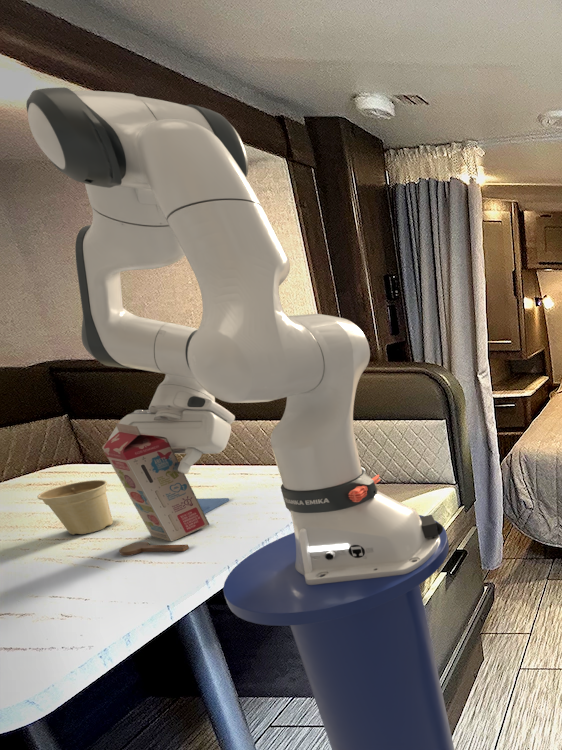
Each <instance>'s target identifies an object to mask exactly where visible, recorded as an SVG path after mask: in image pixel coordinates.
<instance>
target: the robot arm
mask: <svg viewBox="0 0 562 750" xmlns="http://www.w3.org/2000/svg"><path fill="white" fill-rule="evenodd" d="M26 112H27V120H28V126H29V130H30V132H31V135H32V137H33V138H34V141H35V142H36V143H37V145H38V147H39V148H40V150H41V151H42V152H43V153H44V154H45V156H46V157H47V158H48V159H49V161H50V163H51V164H52V165H53V166H54V167H55V168H56V169H57V170H58V171H59V172H61V173H62V174H64V175H65V176H67V177H68V178H70V179H72V180H73V181H75V182H79V183H82V184H84V186H85V190H86V193H87V197H88V200H89V204H90V207H91V210H92V221H91V224H87V225H85V226H82V228H81V229H79V231H78V233H77V235H76V239H75V245H74V246H75V249H74V250H75V251H74V252H75V264H76V265H75V266H76V274H77V282H78V289H79V295H80V305H81V311H82V323H81V343H82V346H83V347H84V348H85V350H86V351H87V352H88V354H89V355H90V356H92V357H93V358H94V359H95V360H96V361H98V362H99V363H100V364H102V365H104V366H106V367H114V368H121V369H122V368H123V369H135V370H142V371H147V372H153V373H158V374H164V375H165V376H164V379H163V381H162V382H160V383H159V384H158V386H157V387H156V390H155V392H154V394H153V397H152V399H151V401H150V404H149V406H148V409H135V410H134V411H133V412H131V413H129V414H126V415H125V416H124V417H122V418H121V419H120V420H119V422H118V423H119V424H125V425H130V426H131V425H132V426H137V427H138V429H139V431H140V433H142V434H148V435H154V436H160V437H165V438H167V440H168V442H169V444H170V446H171V448H172V450H173V452H174V454H175V455H184V456H183V457H182V459H180V461H178V462H175V465H174V466H175V467H173V471H174V472H176V473H178V474H185V475H187V474H189V472H190V469H191V467H192V466H194V465H195V464H196V463H197V462H198V461H199V460H200V459H201V458H202V455H204V454H205V455H206V454H207V455H208V454H210V455H211V454H217V455H218V454H220V453H221V452H223V451H224V450H225V449H226V447H228V443H229V440H230V436H231V433H232V425H231V424H233V423H234V422H235V420H236V416H235V414H233V413H232V412H230V410H228V409H226V408H225V407H224V406H222V405H220V404H219V403H218V402H216V399H218V400H220V401H222V402H225V403H230V404H244V403H245V404H249V403H251V404H252V403H269V402H272V401H277V400H280V399H285V398H286V403H285V407H284V408H285V409H284V412H283V414H282V417H281V419H280V420H279V422H278V423H277V424H276V425H275V426H274V427H273V430H272V431H271V435H270V446H271V450H272V453H273V456H274V460H275V463H276V467H277V470H278V473H279V477H280V480H281V485H280V491H281V494H282V499H283V502H284V505H285V508H286V509H287V510H288V511H289V513H290V517H291V521H292V526H293V531H294V532H293V533H295V541H296V563H295V568H296V570H297V571H298V572H299V573H301V574H302V575H304V576H305V582H306V584H308V585H317V584H325V583H334V582H343V581H352V580H361V579H370V578H378V577H387V576H396V575H403V574H407V573H409V572H411V571H413V570H415V569H417V568H418V567H420V566H421V565H422V564H424V563H425V562H426V561H427V560H428V559H429V558H430V557H431V556H432V555H433V553H434V552H435V551H436V549H437V548H438V546H439V543H440V536H439V535H440V534H441V533H442V531H443V527H444V526H443V524H441V523H440V522H439V523H437V522H438V521H437V522H435V521H436V520H435V519H434V516H433V515H432V514H428V515H422V516H423V517H419V515H420V514H419V513H418V512H417V511H416V509H414V508H413V507H410V506H408V505H406V504H403V503H402V502H400V501H399V500H396V499H395V498H392V497H390V496H388V495H386V494H384V493H383V492H381V491H380V490H378V487H377V486H376V485H377V484H378V483H379V482H380V481H381V480H382V479H381V478H380V474H376V475H375V476H374V477H370V476H369V474H368V473H367V472H366V471H365V469H363V467H362V464H361V460H360V454H359V450H358V445H357V441H356V435H355V430H354V429H355V428H354V407H355V399H356V394H357V388H358V384H359V381H360V379H361V376H362V374H363V373H364V371H365V370H366V369H367V367H368V365H369V363H370V357H371V349H370V345H369V341H368V339H367V337H366V335H365V334H364V332H363V331H362V329H361V328H360V327H359V326H358V325H357V324H355V323H354V322H353V321H351V320H350V319H347V318H344V317H340V316H335V315H328V314H322V313H308V314H296V315H287V314H286V313H285V311H284V309H283V305H282V303H281V297H280V286H281V285H283V283H284V282H285V280H286V279H287V278H288V276H289V274H290V268H291V265H290V260H289V258H288V257H289V256H288V255H287V253H286V251H285V250H284V247H283V246H282V243H281V241H280V239H279V238H278V235H277V233H276V231H275V229H274V227H273V224H272V223H271V221H270V219H269V217H268V215H267V213H266V211H265V209H264V207H263V205H262V203H261V201H260V199H259V198H258V195H257V194H256V192H255V190H254V189H253V187H252V185H251V184H250V181H249V180H248V178H247V176H248V174H249V159H248V155H247V151H246V149H245V145H244V143H243V141H242V139H241V136H240V134H239V133H238V132H237V129H235V127H234V126H233V125H232V124H231V123H230V122H229V121H228V119H226V117H224V116H223V115H222V114H221V113H219V112H217V111H214V110H212V109H209V108H206V107H203V106H200V105H196V104H191V103H189V104H187V105H185V104H181V103H177V102H173V101H167V100H163V99H158V98H153V97H152V98H151V97H145V96H138V95H135V94H134V93H127V92H118V91H105V90H104V91H102V90H71V89H70V88H68V87H65V86H64V87H46V88H39V89H35V90H32V92H31V93H30V95H29V97H28V98H27V99H26ZM184 257H185V258H186V260H187V262H188V264H189V266H190V268H191V270H192V272H193V274H194V276H195V279H196V282H197V284H198V287H199V290H200V297H201V300H202V301H201V303H202V312H201V313H202V314H201V321H200V324H199V326H198V327H192V326H188V325H185V324H184V325H183V324H179V323H174V322H168V321H167V322H166V321H162V320H158V319H152V318H148V317H144V316H139V315H137V314H134V313H132V312H130V311H128V310H127V309H125V307H124V304H123V291H122V281H121V280H122V279H121V272H128V271H141V270H144V271H145V270H157V269H161V268H164V267H168V266H171V265H173V264H175V263H178V262H179V261H181V260H182V259H183V258H184ZM118 432H119V431H118V429H117V426H116V425H115V428H114V429H113V430H112V432H111V434H110V436H109V437H108V439H107V441H109V440H110V439H111V438H112V437H113V436H114V435H116V434H117V433H118Z"/></svg>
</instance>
